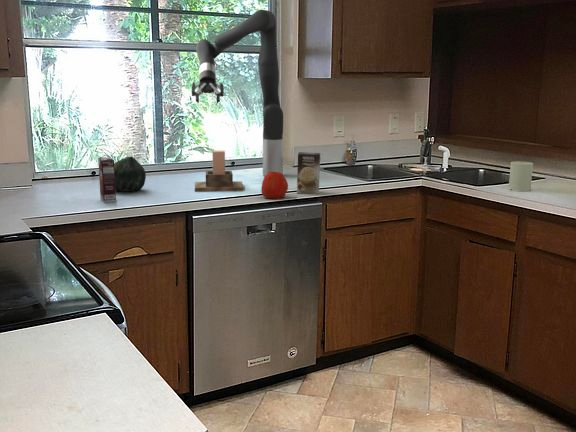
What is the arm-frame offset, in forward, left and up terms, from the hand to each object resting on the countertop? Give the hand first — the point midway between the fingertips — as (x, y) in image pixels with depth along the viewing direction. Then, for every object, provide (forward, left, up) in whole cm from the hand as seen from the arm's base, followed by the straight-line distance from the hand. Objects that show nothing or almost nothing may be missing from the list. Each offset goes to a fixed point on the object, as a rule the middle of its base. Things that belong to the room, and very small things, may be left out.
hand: (207, 101), depth 283 cm
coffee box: (-40, +36, -35) cm, 64 cm away
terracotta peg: (-4, +24, -33) cm, 41 cm away
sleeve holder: (-4, +24, -35) cm, 42 cm away
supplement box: (+38, +48, -35) cm, 70 cm away
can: (-132, +35, -35) cm, 141 cm away
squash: (+33, +28, -35) cm, 55 cm away
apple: (-25, +46, -35) cm, 63 cm away
